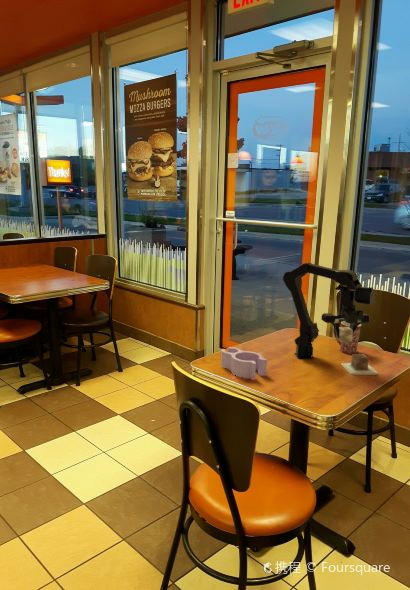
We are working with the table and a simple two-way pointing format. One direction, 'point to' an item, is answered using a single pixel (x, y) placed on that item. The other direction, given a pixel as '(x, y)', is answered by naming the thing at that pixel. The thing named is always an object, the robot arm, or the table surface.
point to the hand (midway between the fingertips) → (344, 337)
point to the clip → (243, 362)
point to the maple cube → (345, 334)
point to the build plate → (359, 372)
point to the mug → (349, 346)
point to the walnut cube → (359, 362)
